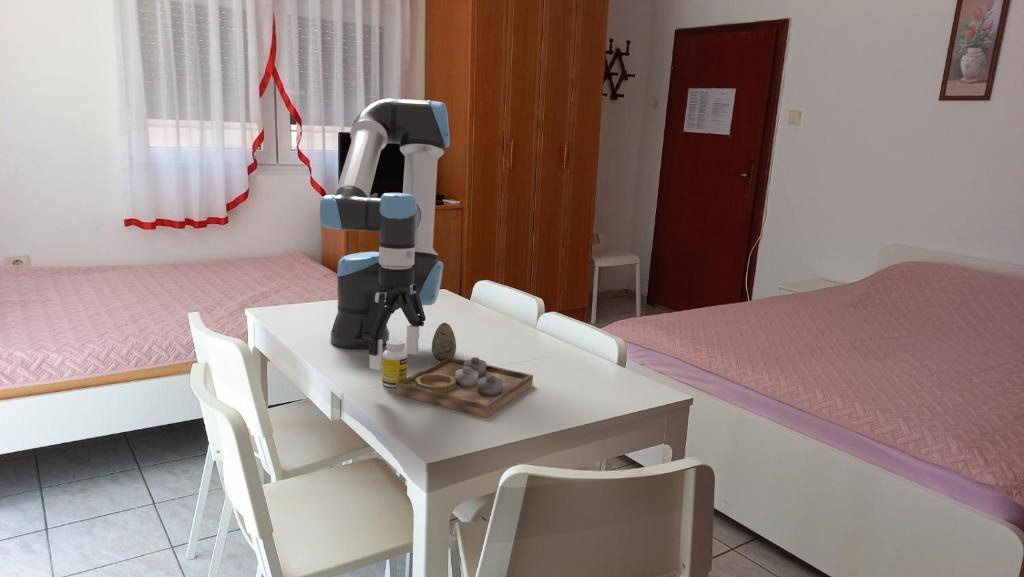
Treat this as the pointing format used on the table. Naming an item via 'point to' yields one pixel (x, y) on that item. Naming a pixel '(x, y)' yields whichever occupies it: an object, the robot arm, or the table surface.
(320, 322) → the table surface
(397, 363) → the supplement bottle
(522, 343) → the table surface
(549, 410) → the table surface
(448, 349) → the decorative egg
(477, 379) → the carrier
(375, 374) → the table surface
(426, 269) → the robot arm
